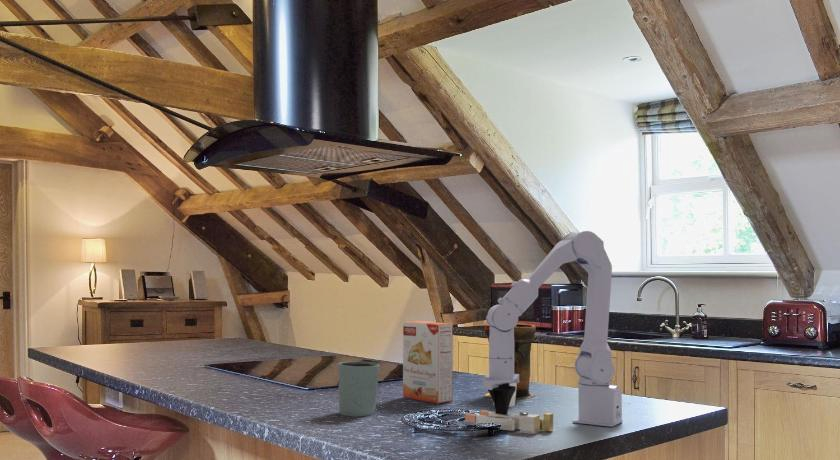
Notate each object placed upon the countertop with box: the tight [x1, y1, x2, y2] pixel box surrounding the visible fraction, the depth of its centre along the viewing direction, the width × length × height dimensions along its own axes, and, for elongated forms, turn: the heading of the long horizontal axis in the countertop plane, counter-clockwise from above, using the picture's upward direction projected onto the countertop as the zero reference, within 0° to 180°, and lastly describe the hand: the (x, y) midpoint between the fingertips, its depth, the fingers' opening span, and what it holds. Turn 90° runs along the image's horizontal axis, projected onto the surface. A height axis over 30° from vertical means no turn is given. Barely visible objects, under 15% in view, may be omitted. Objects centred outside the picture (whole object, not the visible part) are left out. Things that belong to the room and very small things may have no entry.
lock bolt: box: [540, 412, 554, 432], centre depth 175 cm, size 5×2×4 cm, turn 58°
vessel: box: [483, 322, 537, 400], centre depth 226 cm, size 14×14×20 cm
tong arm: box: [479, 409, 521, 430], centre depth 180 cm, size 12×1×2 cm, turn 43°
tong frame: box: [464, 411, 541, 435], centre depth 176 cm, size 16×4×4 cm, turn 58°
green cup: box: [337, 361, 380, 417], centre depth 195 cm, size 10×10×12 cm
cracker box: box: [402, 320, 454, 405], centre depth 217 cm, size 14×6×21 cm, turn 43°
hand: (501, 418), depth 182 cm, fingers closed
